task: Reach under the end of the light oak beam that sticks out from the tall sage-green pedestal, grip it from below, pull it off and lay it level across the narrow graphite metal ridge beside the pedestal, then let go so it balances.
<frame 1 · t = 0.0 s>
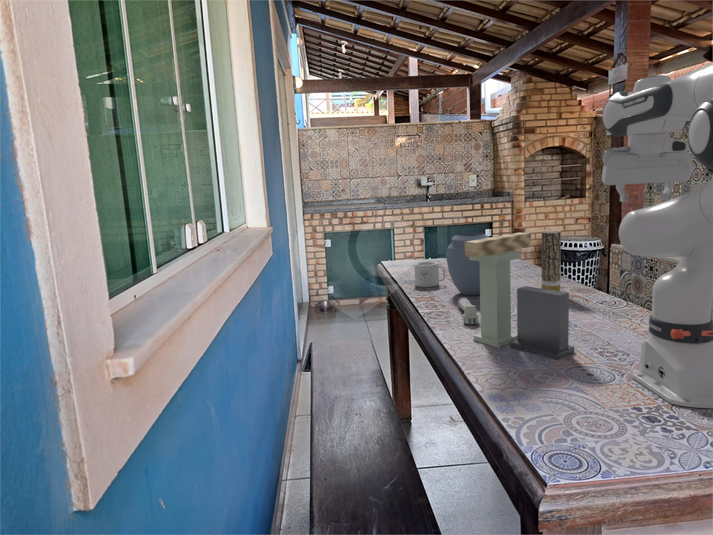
hand: (643, 200, 132), 39 cm above the table, tool pointing down, fingers open, 8 cm apart
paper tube: (550, 295, 200), on the table
ridge: (542, 349, 140), on the table
beam: (499, 251, 146), point 26 cm above the table, touching pedestal
light grey elongated piece: (467, 316, 178), on the table
pedestal: (495, 340, 150), on the table
mug: (430, 285, 231), on the table
vase: (471, 294, 210), on the table
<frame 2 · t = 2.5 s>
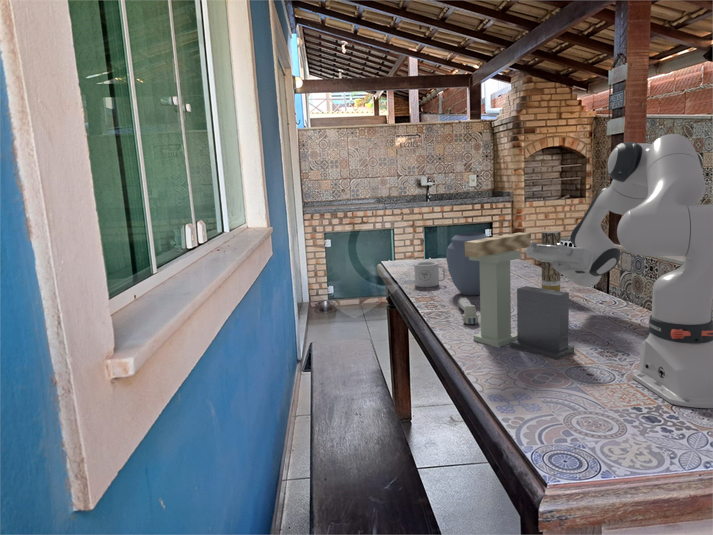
hand: (544, 244, 159), 25 cm above the table, tool pointing upward, fingers open, 8 cm apart
nothing on the table moved.
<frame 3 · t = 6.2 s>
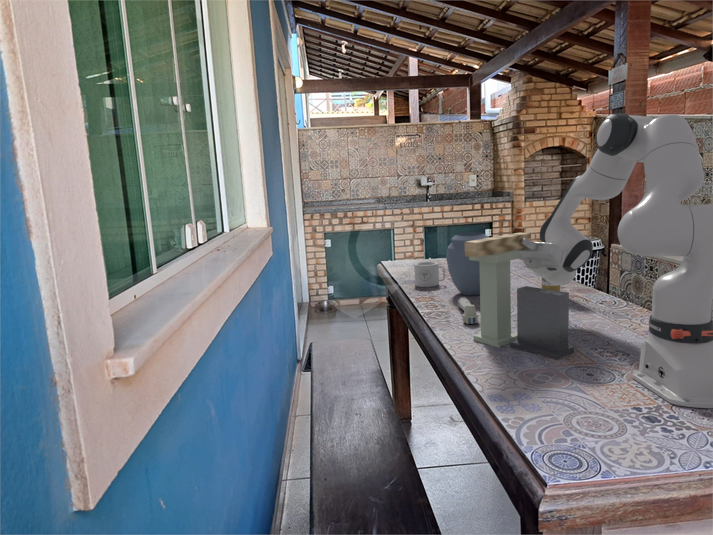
hand: (514, 240, 150), 28 cm above the table, tool pointing upward, fingers closed on beam, 4 cm apart
beam: (499, 251, 146), point 26 cm above the table, touching gripper, pedestal
everything else where it was.
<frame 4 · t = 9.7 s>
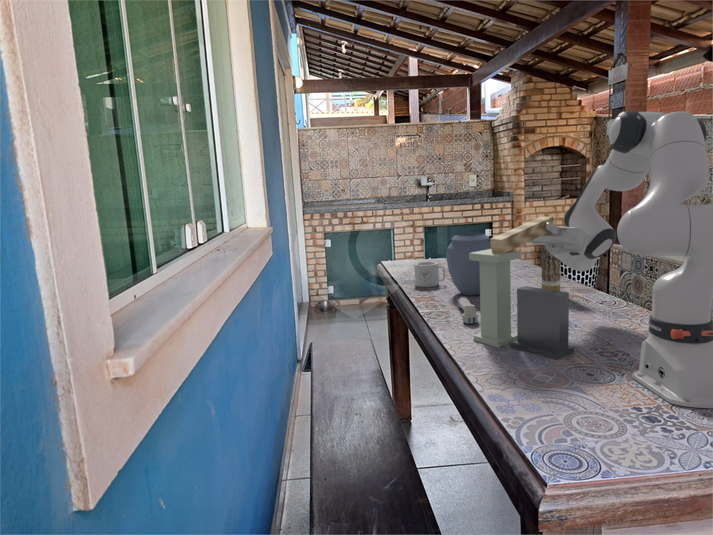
hand: (537, 224, 152), 32 cm above the table, tool pointing upward, fingers closed on beam, 4 cm apart
beam: (524, 240, 150), point 28 cm above the table, tilted 10°, touching gripper
everything else where it was.
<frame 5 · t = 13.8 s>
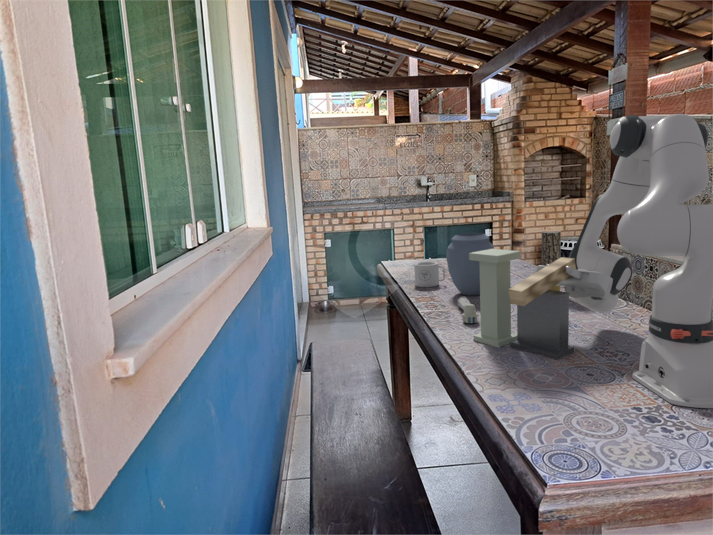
hand: (557, 267, 140), 22 cm above the table, tool pointing upward, fingers closed on beam, 4 cm apart
beam: (544, 287, 137), point 17 cm above the table, tilted 12°, touching gripper
when the fingers open (20 cm above the table, at t = 14.7 s): beam stays where it is, resting on ridge.
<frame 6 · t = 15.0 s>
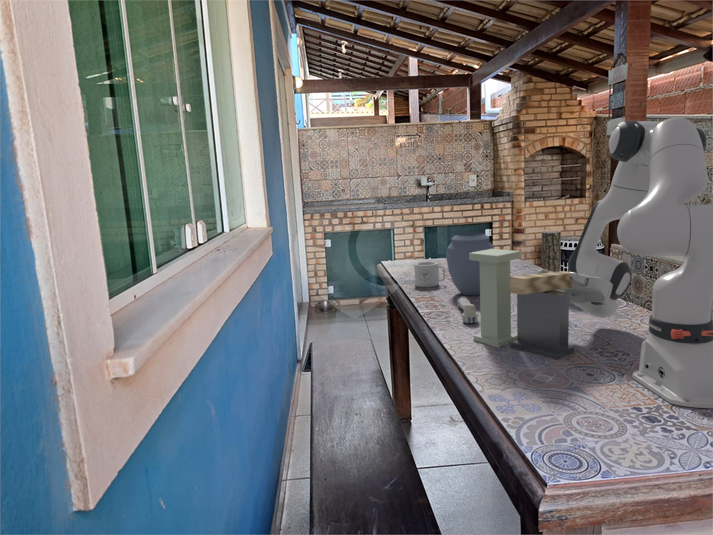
hand: (556, 273, 140), 20 cm above the table, tool pointing upward, fingers open, 7 cm apart
beam: (543, 289, 137), point 17 cm above the table, tilted 5°, touching ridge
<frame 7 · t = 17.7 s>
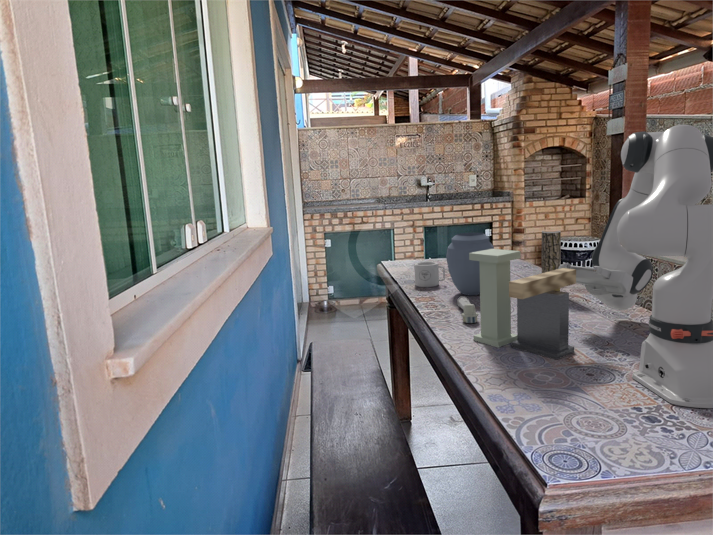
hand: (580, 266, 147), 20 cm above the table, tool pointing upward, fingers open, 8 cm apart
beam: (543, 289, 137), point 16 cm above the table, touching ridge
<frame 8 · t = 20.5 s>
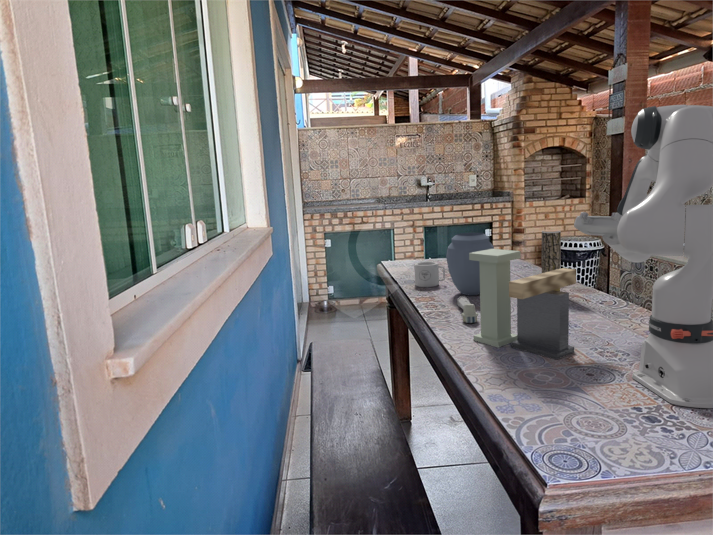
hand: (598, 214, 148), 34 cm above the table, tool pointing upward, fingers open, 8 cm apart
at the end: beam touching ridge; beam tilted 0°; beam point 16.5 cm above the table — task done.
